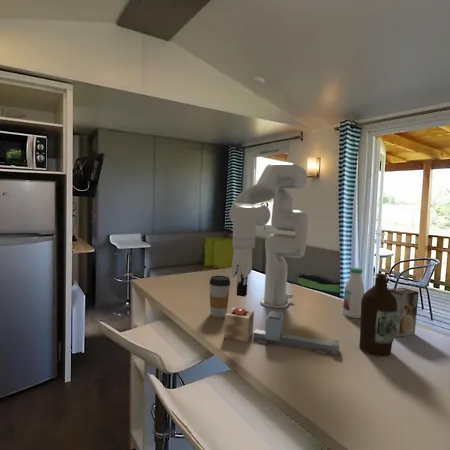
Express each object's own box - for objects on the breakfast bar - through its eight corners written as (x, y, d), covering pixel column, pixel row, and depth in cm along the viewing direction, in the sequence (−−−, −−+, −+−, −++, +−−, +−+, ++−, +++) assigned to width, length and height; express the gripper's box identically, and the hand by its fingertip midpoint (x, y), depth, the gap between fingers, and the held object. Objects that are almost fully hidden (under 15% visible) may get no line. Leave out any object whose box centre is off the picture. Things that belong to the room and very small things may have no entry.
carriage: (265, 339, 111) (266, 316, 110) (269, 331, 118) (270, 309, 117) (278, 341, 110) (280, 318, 109) (282, 333, 116) (283, 311, 116)
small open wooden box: (224, 337, 115) (225, 314, 114) (230, 329, 122) (232, 307, 122) (247, 341, 112) (248, 318, 112) (252, 332, 120) (254, 310, 119)
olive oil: (350, 343, 115) (356, 270, 113) (378, 341, 117) (384, 270, 115) (370, 358, 105) (378, 278, 102) (400, 356, 107) (408, 278, 105)
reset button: (240, 322, 120) (241, 307, 119) (246, 325, 117) (247, 310, 116) (231, 324, 118) (232, 308, 117) (238, 327, 115) (239, 312, 114)
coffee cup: (226, 319, 131) (228, 281, 130) (205, 317, 133) (207, 279, 132) (230, 312, 140) (232, 276, 138) (210, 310, 141) (212, 274, 140)
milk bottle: (362, 314, 145) (366, 268, 143) (361, 320, 138) (366, 271, 136) (343, 311, 148) (347, 265, 146) (341, 316, 141) (345, 268, 139)
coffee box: (399, 327, 132) (403, 287, 130) (415, 334, 126) (419, 291, 124) (383, 331, 127) (387, 289, 126) (399, 338, 122) (403, 293, 120)
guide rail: (252, 341, 113) (252, 332, 113) (256, 334, 119) (256, 325, 118) (338, 357, 105) (339, 346, 104) (338, 348, 110) (338, 339, 110)
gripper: (239, 238, 123) (237, 288, 125) (226, 245, 109) (224, 301, 111) (259, 240, 121) (257, 290, 123) (249, 247, 106) (247, 304, 109)
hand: (241, 295), depth 117 cm, fingers closed
